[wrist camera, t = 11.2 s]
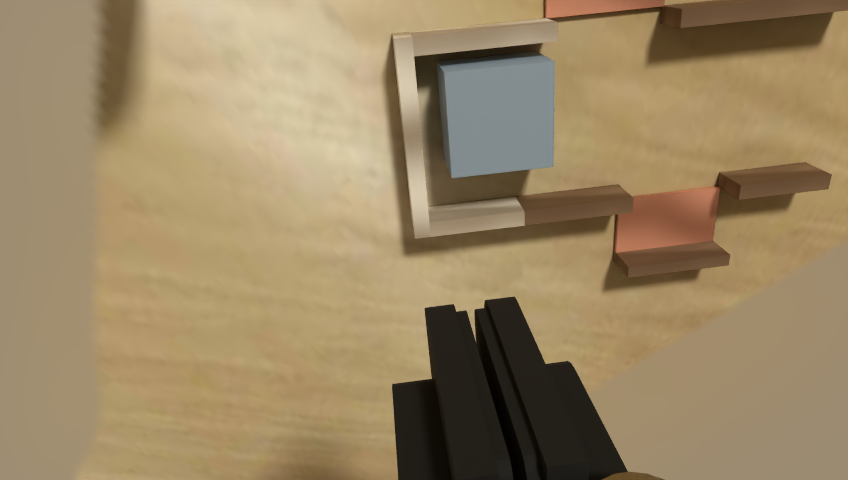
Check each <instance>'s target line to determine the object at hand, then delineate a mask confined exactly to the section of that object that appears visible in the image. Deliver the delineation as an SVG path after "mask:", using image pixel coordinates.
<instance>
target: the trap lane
mask: <svg viewBox="0 0 848 480" xmlns="http://www.w3.org/2000/svg"><path fill="white" fill-rule="evenodd" d="M664 1H665V0H545V18H540V19H530V20H520V21H511V22H501V23H492V24H482V25H472V26H463V27H453V28H444V29H434V30H424V31H415V32H405V33H396V34H392V40H393V49H394V59H395V68H396V78H397V87H398V96H399V106H400V115H401V125H402V134H403V143H404V153H405V162H406V171H407V181H408V190H409V200H410V209H411V218H412V226H413V231H414V236H415V239H417V238H426V237H434V236H442V235H451V234H459V233H467V232H476V231H484V230H492V229H501V228H509V227H517V226H526V225H534V224H542V223H551V222H559V221H567V220H575V219H584V218H592V217H600V216H609V215H616V232H615V249H614V262H615V263H616V264H617V265H618V267H619V268H620V269H621V270H622V271H623V273H624V274H625V275H626V276H627V277H628V278H631V277H639V276H647V275H655V274H663V273H671V272H679V271H687V270H695V269H703V268H711V267H719V266H727V265H729V259H730V254H728V253H727V252H726V251H725V250H724V249H722V248H721V247H720V246H719V245H717V244H716V243H715V242H714V241H713V236H714V229H715V222H716V214H717V207H718V200H719V193H720V188H721V189H723V190H724V191H726V192H727V193H729V194H730V195H732V196H733V197H735V198H737V199H738V200H742V199H750V198H759V197H767V196H775V195H783V194H792V193H800V192H808V191H817V190H825V189H828V188H829V184H830V179H831V174H829V173H827V172H825V171H823V170H821V169H818V168H816V167H814V166H812V165H810V164H808V163H796V164H788V165H779V166H771V167H762V168H754V169H745V170H737V171H729V172H720V174H719V181H718V186H717V187H709V188H700V189H692V190H683V191H675V192H667V193H658V194H650V195H641V196H633V197H632V196H631V195H630V194H628V193H627V192H626V191H625V190H624V189H623V188H622V187H621V186H619V185H610V186H601V187H593V188H584V189H576V190H567V191H559V192H550V193H542V194H533V195H525V196H516V197H508V198H499V199H491V200H482V201H474V202H465V203H457V204H449V205H440V206H432V207H428V202H427V191H426V180H425V170H424V159H423V148H422V137H421V126H420V116H419V105H418V94H417V83H416V72H415V61H414V56H423V55H432V54H441V53H451V52H460V51H470V50H479V49H488V48H498V47H507V46H517V45H526V44H536V43H545V42H554V41H558V22H556V21H553V20H550V19H547V18H555V17H565V16H574V15H584V14H593V13H603V12H613V11H622V10H632V9H641V8H651V7H661V6H662V9H661V21H660V24H664V25H669V26H673V27H678V28H686V27H696V26H705V25H715V24H724V23H733V22H743V21H752V20H762V19H771V18H781V17H790V16H799V15H809V14H818V13H828V12H837V11H846V10H848V0H712V1H703V2H693V3H684V4H674V5H664Z"/></svg>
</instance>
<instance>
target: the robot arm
mask: <svg viewBox="0 0 848 480" xmlns="http://www.w3.org/2000/svg"><path fill="white" fill-rule="evenodd" d="M425 317H426V327H427V336H428V346H429V356H430V365H431V375H432V379H428V380H420V381H413V382H405V383H397V384H392V390H393V406H394V421H395V435H396V450H397V465H398V480H664V479H662V478H659V477H655V476H653V475H650V474H646V473H637V472H628V471H627V469H626V467H625V465H624V463H623V461H622V460H621V458H620V456H619V454H618V452H617V450H616V448H615V446H614V444H613V442H612V440H611V438H610V436H609V434H608V432H607V431H606V429H605V427H604V425H603V423H602V421H601V419H600V417H599V415H598V413H597V411H596V409H595V407H594V405H593V403H592V401H591V399H590V398H589V396H588V394H587V392H586V390H585V388H584V386H583V384H582V382H581V380H580V378H579V376H578V374H577V372H576V370H575V368H574V367H573V365H572V364H571V363H570V362H568V361H565V362H558V363H550V364H545V362H544V360H543V357H542V355H541V353H540V351H539V348H538V346H537V344H536V342H535V339H534V337H533V335H532V333H531V331H530V328H529V326H528V324H527V322H526V319H525V317H524V315H523V313H522V311H521V308H520V306H519V304H518V302H517V300H516V298H515V297H507V298H499V299H491V300H485V304H484V308H482V309H475V330H476V341H475V338H474V334H473V331H472V328H471V324H470V321H469V317H468V314H467V311H458V312H456V310H455V306H454V304H452V305H444V306H436V307H428V308H425Z"/></svg>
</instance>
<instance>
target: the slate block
mask: <svg viewBox="0 0 848 480" xmlns="http://www.w3.org/2000/svg"><path fill="white" fill-rule="evenodd" d="M437 74H438V88H439V101H440V114H441V128H442V141H443V154H444V160H445V163H446V165H447V168H448V170H449V173H450V175H451V178H459V177H467V176H476V175H485V174H494V173H503V172H511V171H520V170H529V169H538V168H547V167H553V163H554V61H553V60H551V59H550V58H548V57H546V56H544V55H542V54H540V53H538V52H537V51H533V52H524V53H514V54H505V55H495V56H486V57H476V58H466V59H457V60H447V61H438V62H437Z"/></svg>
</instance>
